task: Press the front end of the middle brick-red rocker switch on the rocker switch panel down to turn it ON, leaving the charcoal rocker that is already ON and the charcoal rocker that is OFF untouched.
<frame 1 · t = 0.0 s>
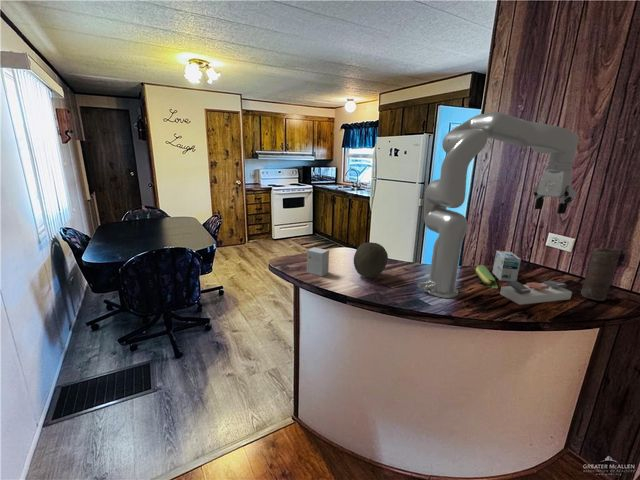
hand: (549, 211, 123), 31 cm above the countertop, tool pointing down, fingers open, 9 cm apart
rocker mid: (537, 285, 117), point 5 cm above the countertop, hinge at -10.0°
edible corn: (484, 281, 133), on the countertop
dark brown sphere: (369, 277, 133), on the countertop
rocker switch panel: (534, 296, 119), on the countertop
rocker right: (554, 284, 120), point 5 cm above the countertop, hinge at -10.0°
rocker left: (519, 287, 115), point 5 cm above the countertop, hinge at 10.0°
light bulb box: (503, 277, 137), on the countertop
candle: (592, 299, 118), on the countertop
small box: (317, 273, 135), on the countertop
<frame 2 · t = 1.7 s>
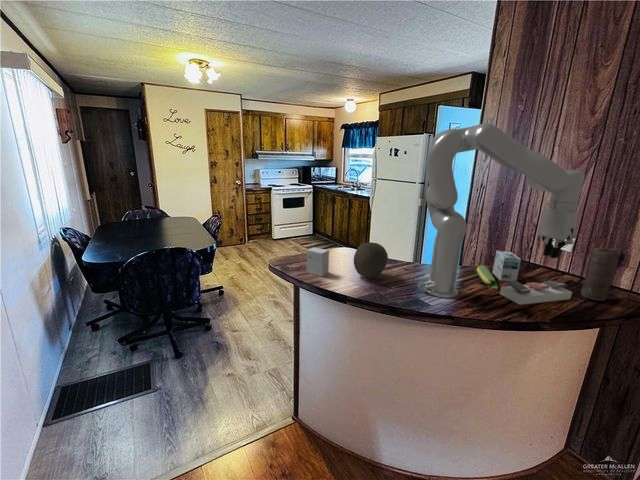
hand: (550, 256, 112), 17 cm above the countertop, tool pointing down, fingers closed
nothing on the countertop moved.
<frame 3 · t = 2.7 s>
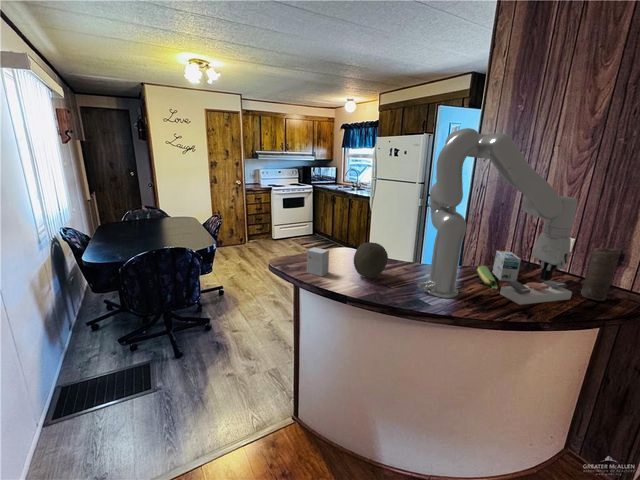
hand: (545, 279, 114), 8 cm above the countertop, tool pointing down, fingers closed
nothing on the countertop moved.
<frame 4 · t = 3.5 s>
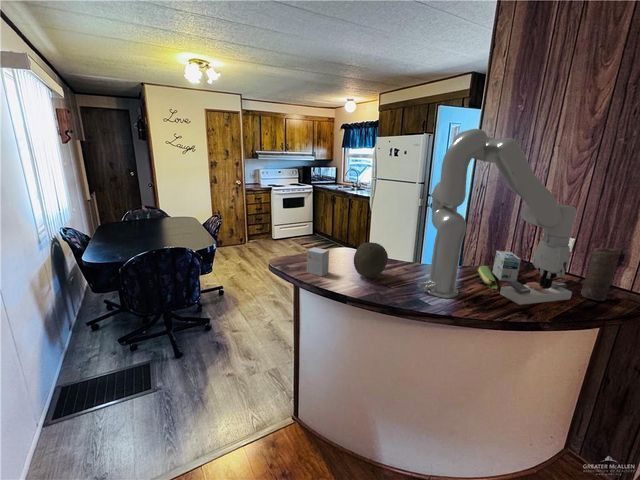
hand: (544, 287, 115), 5 cm above the countertop, tool pointing down, fingers closed
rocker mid: (537, 285, 117), point 5 cm above the countertop, hinge at -8.4°, touching gripper
everything else where it was.
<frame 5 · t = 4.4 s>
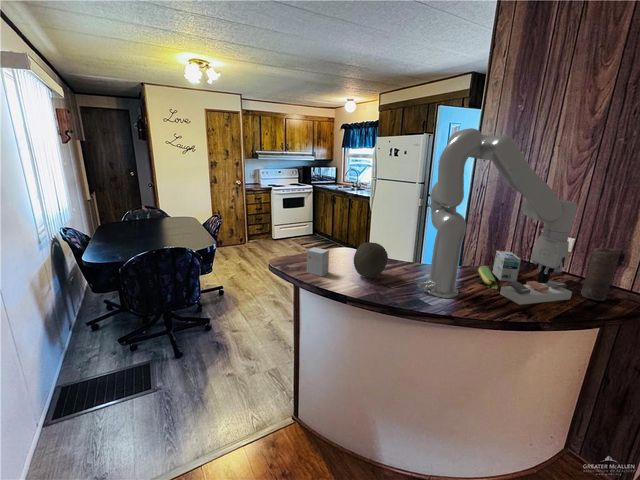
hand: (542, 282, 115), 7 cm above the countertop, tool pointing down, fingers closed
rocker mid: (537, 285, 117), point 5 cm above the countertop, hinge at 1.0°
everything else where it was.
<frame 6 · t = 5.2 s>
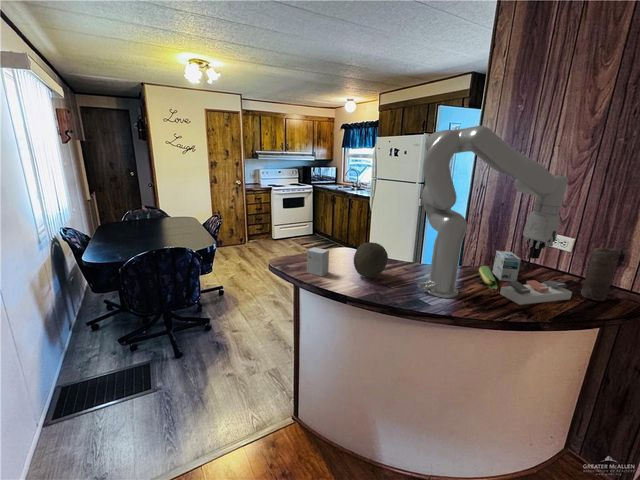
hand: (533, 257, 117), 15 cm above the countertop, tool pointing down, fingers closed
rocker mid: (537, 285, 117), point 5 cm above the countertop, hinge at 7.8°
everything else where it was.
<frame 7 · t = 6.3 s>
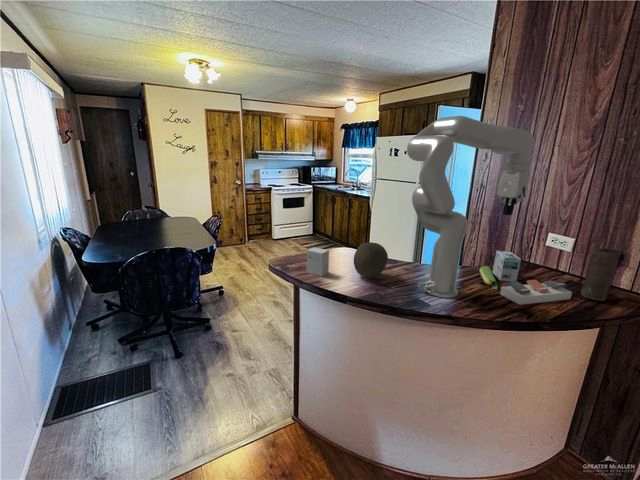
hand: (507, 214, 125), 29 cm above the countertop, tool pointing down, fingers closed
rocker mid: (537, 285, 117), point 5 cm above the countertop, hinge at 14.1°
everything else where it was.
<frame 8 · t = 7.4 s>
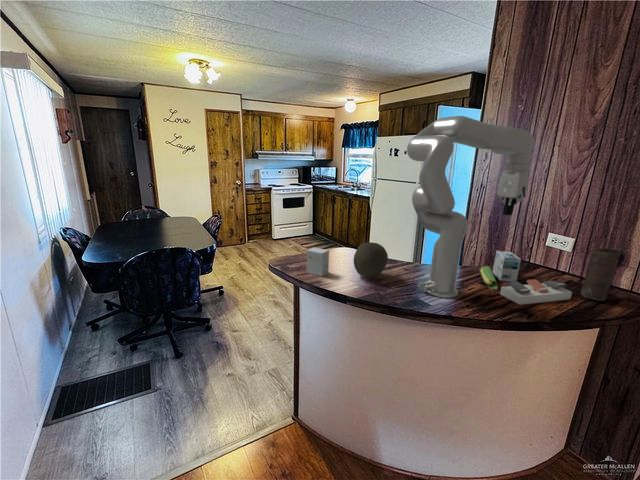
hand: (507, 214, 125), 29 cm above the countertop, tool pointing down, fingers closed
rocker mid: (537, 285, 117), point 5 cm above the countertop, hinge at 18.2°
at the end: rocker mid at +18° (first picture: -10°); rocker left at +10° (first picture: +10°); rocker right at -10° (first picture: -10°) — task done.
